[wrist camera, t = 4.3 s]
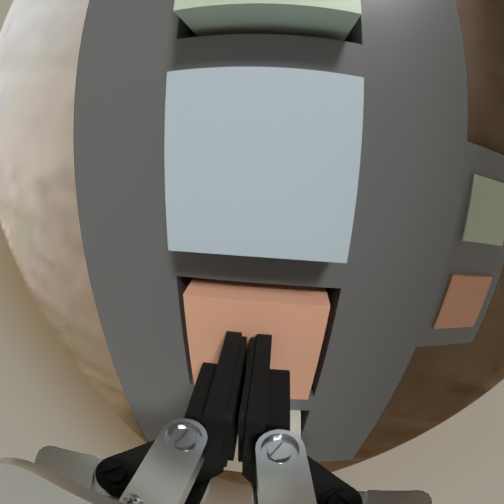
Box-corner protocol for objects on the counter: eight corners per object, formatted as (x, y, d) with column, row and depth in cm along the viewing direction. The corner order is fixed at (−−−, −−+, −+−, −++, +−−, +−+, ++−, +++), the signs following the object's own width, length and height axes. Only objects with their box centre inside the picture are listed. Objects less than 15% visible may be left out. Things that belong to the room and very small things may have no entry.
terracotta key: (321, 271, 12) (330, 306, 9) (305, 359, 14) (307, 399, 11) (202, 262, 12) (183, 294, 10) (207, 350, 14) (194, 389, 11)
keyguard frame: (417, -20, 6) (442, -45, 4) (347, 427, 17) (351, 460, 14) (133, -28, 7) (106, -52, 5) (159, 409, 18) (146, 440, 15)
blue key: (342, 93, 8) (364, 77, 6) (331, 232, 10) (346, 263, 8) (195, 87, 9) (167, 71, 6) (194, 223, 10) (168, 250, 8)
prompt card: (517, 162, 9) (525, 164, 8) (469, 337, 13) (474, 344, 13) (454, 138, 10) (463, 139, 9) (407, 342, 14) (411, 349, 13)
